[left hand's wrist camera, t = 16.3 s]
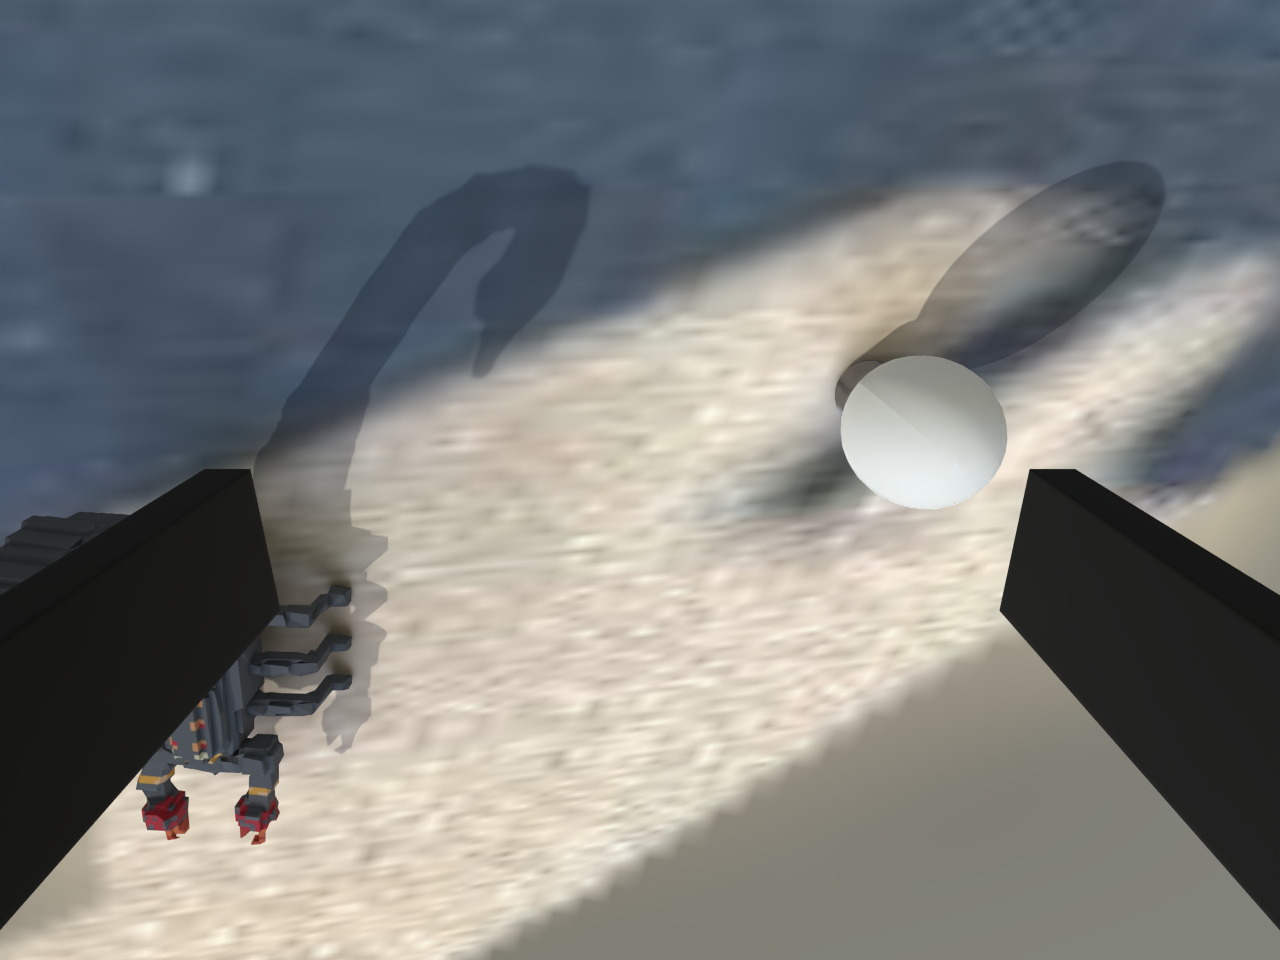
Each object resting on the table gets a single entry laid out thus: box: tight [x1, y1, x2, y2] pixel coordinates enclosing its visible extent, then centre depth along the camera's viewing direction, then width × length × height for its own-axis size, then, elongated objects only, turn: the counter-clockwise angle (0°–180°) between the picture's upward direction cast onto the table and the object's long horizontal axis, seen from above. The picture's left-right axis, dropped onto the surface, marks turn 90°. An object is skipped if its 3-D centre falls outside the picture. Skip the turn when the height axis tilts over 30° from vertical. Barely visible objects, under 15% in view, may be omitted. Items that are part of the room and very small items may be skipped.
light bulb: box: [835, 355, 1007, 509], centre depth 34 cm, size 7×7×11 cm
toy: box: [0, 512, 352, 845], centre depth 36 cm, size 13×27×18 cm, turn 172°
